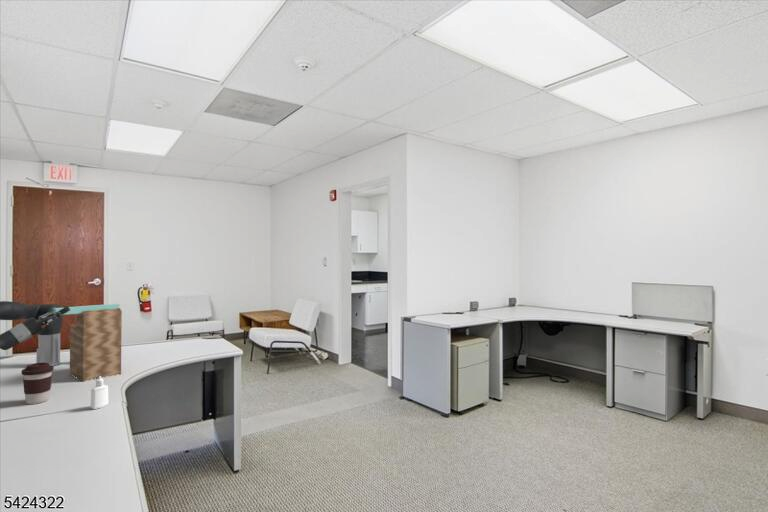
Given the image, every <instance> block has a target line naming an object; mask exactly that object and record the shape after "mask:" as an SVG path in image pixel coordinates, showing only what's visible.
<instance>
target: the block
mask: <svg viewBox="0 0 768 512" xmlns="http://www.w3.org/2000/svg"><path fill="white" fill-rule="evenodd" d="M65 307H66V306H65ZM65 307H64V308H65ZM68 307H69V309H70V311H68V312H66V313H64V314H63V316H64V315H77V314H79V313H82V311H91V310H104V309H116V308H120V304H119V303H109V304H108V303H107V304H94V305H93V304H92V305H80V306H68ZM61 309H63V308H53V313H55V312H57V311H59V310H61Z"/></svg>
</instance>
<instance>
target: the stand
mask: <svg viewBox="0 0 768 512" xmlns="http://www.w3.org/2000/svg"><path fill="white" fill-rule="evenodd" d="M122 315H123V314H122V310H121V308H120V307H119V308H116V309H104V310H91V311H82V313H79V314H76V323H75V324H70V327H69V329H70V330H69V375H70V374H71V375H70V376H72V375H73V376H72V377H74V376H75V377H74V378H76V377H77V378H76V379H78V380H79V379H80V380H79V381H81V380H82V381H81V382H87V381H86V380H88V381H92V380H91V379H93V380H96V379H95V378H99V376H101V377H104V378H106V376H109V377H113V376H112V375H114V376H118V375H117V374H119V375H122V318H123V317H122Z"/></svg>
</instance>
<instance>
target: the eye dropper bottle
mask: <svg viewBox="0 0 768 512" xmlns="http://www.w3.org/2000/svg"><path fill="white" fill-rule="evenodd" d="M104 382H105V381H104V378H101V376H99V378H98V379H95V386H94V387H92V388H91V390H90V409H92V410H98V408H99V409H102V407H103V408H105V407H107V406H108V405H109V386H108V385H107V384H105V383H104Z"/></svg>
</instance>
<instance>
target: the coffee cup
mask: <svg viewBox="0 0 768 512" xmlns="http://www.w3.org/2000/svg"><path fill="white" fill-rule="evenodd" d="M54 368H55V366H50V365H49V363H30V364H27V365H26V367H25V368H24V369H22V370H21V375H22V376H23V379H22V383H23V394H24V398H25V399H24V400H25V404H27V405H35V404H36V405H37V404H42V403H45V402H47V401H49V400H50V393H51V392H50V391H51V388H52V380H53V379H52V378H53V375H52V373H53V371H54Z"/></svg>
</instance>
